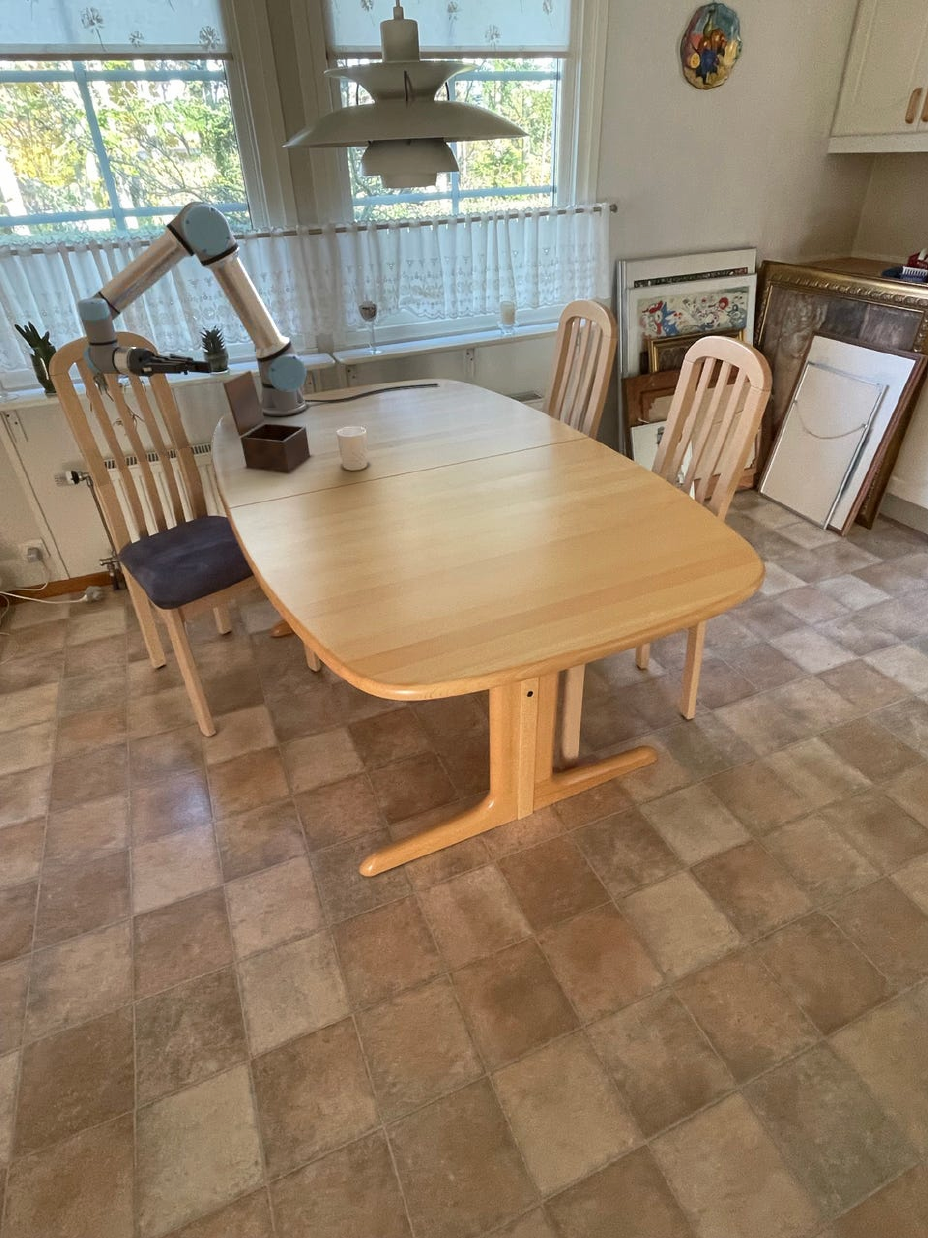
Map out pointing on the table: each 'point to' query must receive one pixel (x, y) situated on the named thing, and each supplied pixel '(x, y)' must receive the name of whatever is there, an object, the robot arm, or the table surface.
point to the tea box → (275, 447)
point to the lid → (244, 402)
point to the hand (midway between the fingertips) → (209, 367)
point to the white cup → (353, 447)
